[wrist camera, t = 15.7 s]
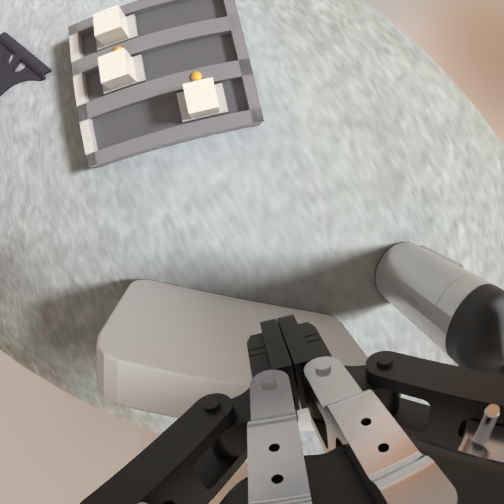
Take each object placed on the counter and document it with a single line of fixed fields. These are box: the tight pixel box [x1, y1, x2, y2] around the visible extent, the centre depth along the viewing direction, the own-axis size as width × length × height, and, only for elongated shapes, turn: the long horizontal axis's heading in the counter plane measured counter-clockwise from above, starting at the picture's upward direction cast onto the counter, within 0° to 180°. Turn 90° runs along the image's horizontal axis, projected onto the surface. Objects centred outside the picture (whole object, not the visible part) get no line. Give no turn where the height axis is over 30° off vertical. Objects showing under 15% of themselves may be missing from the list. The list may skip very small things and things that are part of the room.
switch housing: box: [69, 0, 264, 168], centre depth 30 cm, size 20×19×4 cm
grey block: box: [96, 279, 368, 431], centre depth 34 cm, size 29×8×18 cm, turn 75°
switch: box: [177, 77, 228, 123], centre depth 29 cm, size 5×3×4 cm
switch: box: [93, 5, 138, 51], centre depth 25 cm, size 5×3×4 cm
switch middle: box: [97, 48, 147, 95], centre depth 27 cm, size 5×3×4 cm
